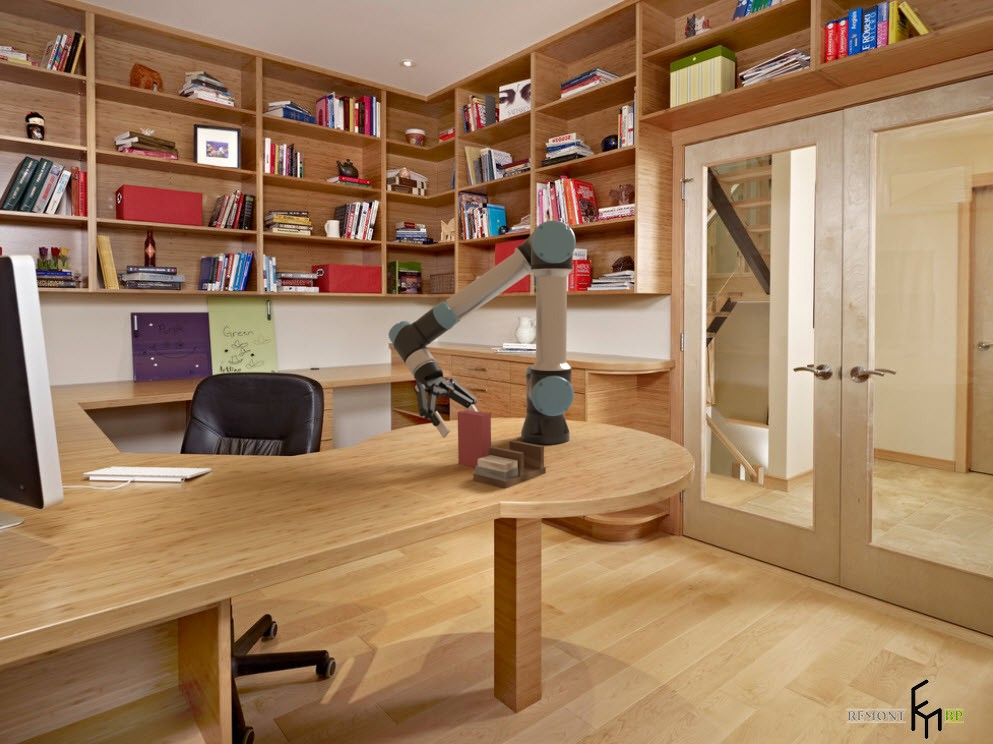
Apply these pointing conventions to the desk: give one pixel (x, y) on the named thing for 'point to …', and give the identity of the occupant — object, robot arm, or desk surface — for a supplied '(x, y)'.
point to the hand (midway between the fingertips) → (465, 430)
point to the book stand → (510, 464)
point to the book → (473, 436)
